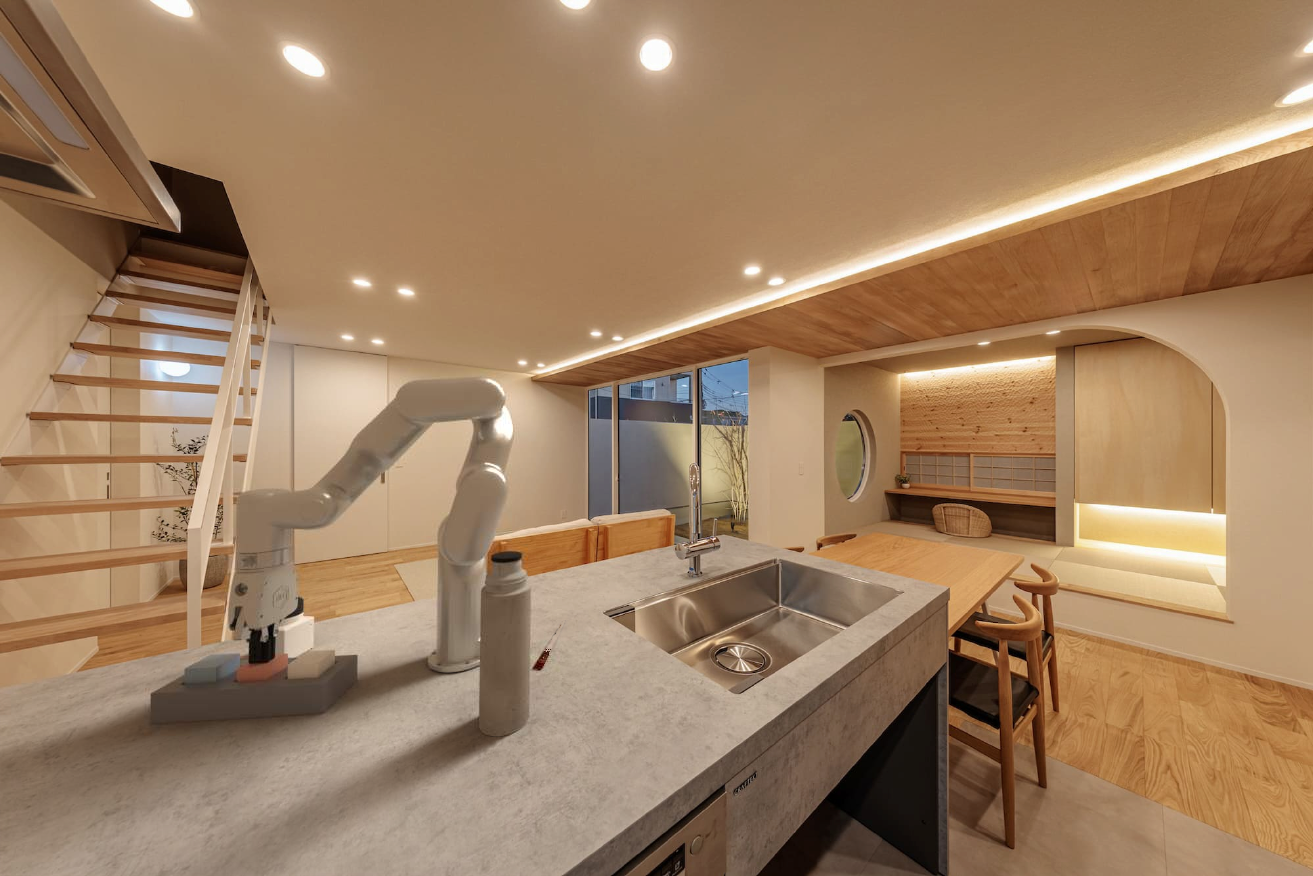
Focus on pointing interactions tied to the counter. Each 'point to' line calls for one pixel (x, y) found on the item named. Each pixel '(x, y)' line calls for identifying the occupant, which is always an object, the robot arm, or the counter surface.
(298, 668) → the off-white key
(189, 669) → the slate-blue key
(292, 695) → the key panel
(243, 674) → the terracotta key
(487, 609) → the thermos bottle
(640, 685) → the counter surface
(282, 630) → the medicine bottle
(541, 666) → the red handled knife
